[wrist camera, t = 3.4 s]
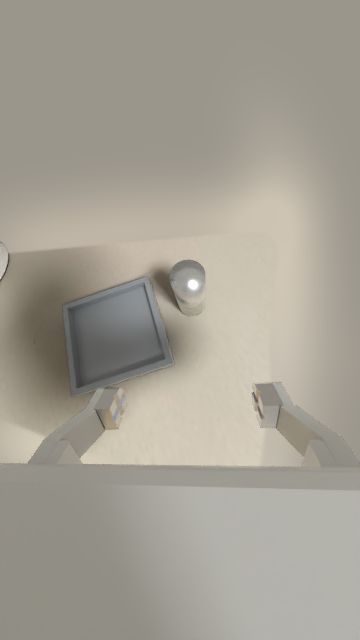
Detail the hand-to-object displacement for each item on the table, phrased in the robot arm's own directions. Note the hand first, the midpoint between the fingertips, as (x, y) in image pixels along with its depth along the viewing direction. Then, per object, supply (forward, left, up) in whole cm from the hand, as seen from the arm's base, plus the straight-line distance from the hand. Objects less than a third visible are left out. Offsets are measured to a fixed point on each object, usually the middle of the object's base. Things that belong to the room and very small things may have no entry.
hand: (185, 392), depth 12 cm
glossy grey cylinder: (+3, +11, -14) cm, 18 cm away
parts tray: (-9, +10, -14) cm, 19 cm away
